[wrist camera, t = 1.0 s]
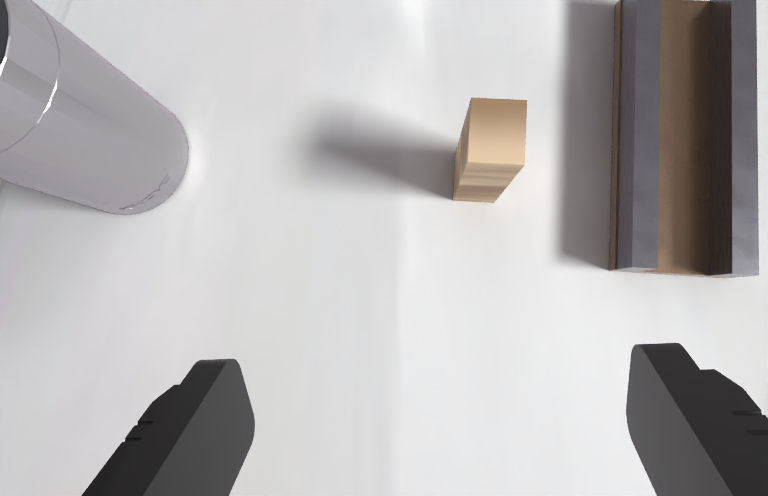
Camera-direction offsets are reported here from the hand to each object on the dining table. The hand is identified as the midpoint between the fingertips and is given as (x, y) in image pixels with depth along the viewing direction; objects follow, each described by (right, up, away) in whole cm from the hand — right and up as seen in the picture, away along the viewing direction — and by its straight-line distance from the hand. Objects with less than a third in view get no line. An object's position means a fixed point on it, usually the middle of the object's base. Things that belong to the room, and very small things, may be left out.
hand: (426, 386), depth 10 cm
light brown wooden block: (+6, +8, +27) cm, 28 cm away
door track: (+20, +11, +26) cm, 35 cm away
